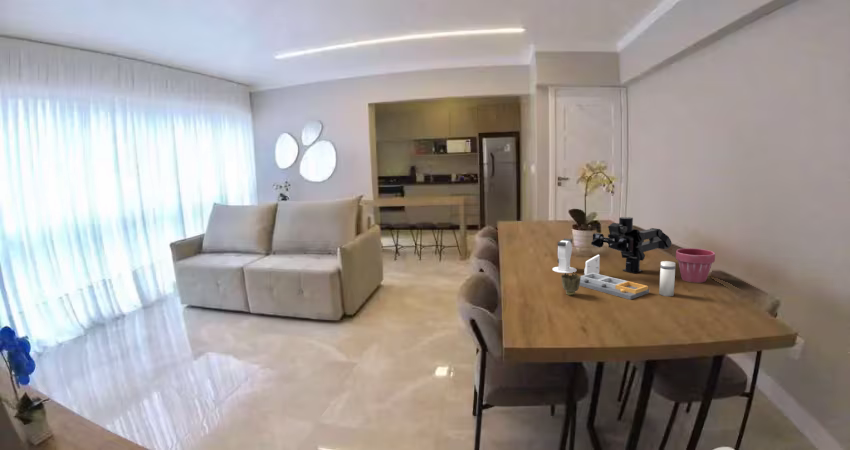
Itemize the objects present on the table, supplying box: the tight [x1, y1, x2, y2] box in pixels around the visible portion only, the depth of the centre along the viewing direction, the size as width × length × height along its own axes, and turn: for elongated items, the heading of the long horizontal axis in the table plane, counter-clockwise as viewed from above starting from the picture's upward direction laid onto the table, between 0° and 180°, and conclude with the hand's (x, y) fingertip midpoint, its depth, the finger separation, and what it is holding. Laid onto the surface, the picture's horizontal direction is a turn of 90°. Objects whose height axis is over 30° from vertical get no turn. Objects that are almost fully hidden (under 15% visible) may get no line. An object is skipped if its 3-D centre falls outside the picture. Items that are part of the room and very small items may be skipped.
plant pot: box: [675, 247, 716, 284], centre depth 180 cm, size 14×14×13 cm
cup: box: [560, 273, 582, 296], centre depth 167 cm, size 8×7×8 cm
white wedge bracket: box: [583, 254, 601, 275], centre depth 193 cm, size 4×10×9 cm, turn 84°
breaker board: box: [579, 273, 650, 301], centre depth 173 cm, size 13×26×3 cm, turn 32°
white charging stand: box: [552, 238, 577, 274], centre depth 203 cm, size 12×11×15 cm
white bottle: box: [658, 260, 676, 297], centre depth 163 cm, size 5×5×13 cm
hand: (600, 245), depth 182 cm, fingers open, 9 cm apart
